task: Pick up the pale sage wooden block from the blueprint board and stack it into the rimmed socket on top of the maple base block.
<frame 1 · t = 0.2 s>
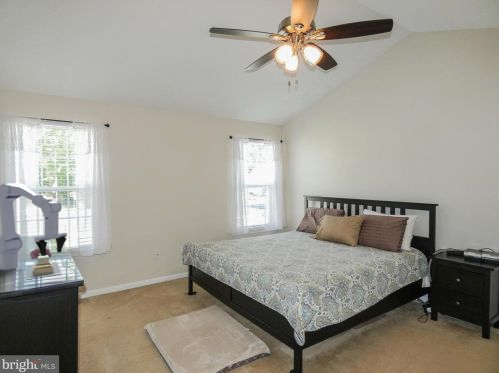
hand: (51, 253, 146), 10 cm above the dresser top, tool pointing down, fingers open, 7 cm apart
video game controller: (40, 258, 175), on the dresser top
blueprint board: (42, 271, 150), on the dresser top
sage block: (43, 266, 156), point 1 cm above the dresser top, touching blueprint board
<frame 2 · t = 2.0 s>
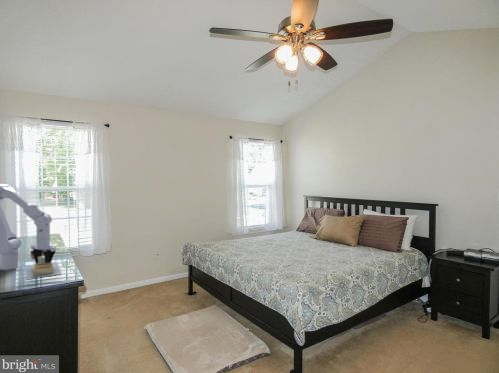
hand: (43, 263, 155), 2 cm above the dresser top, tool pointing down, fingers closed on sage block, 6 cm apart
sage block: (43, 266, 156), point 1 cm above the dresser top, touching blueprint board, gripper
everything else where it was.
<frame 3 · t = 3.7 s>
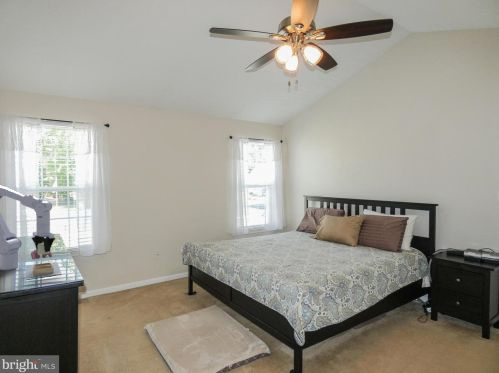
hand: (43, 250, 154), 9 cm above the dresser top, tool pointing down, fingers closed on sage block, 6 cm apart
sage block: (43, 253, 154), point 8 cm above the dresser top, touching gripper
everything else where it was.
when the fingers open (6 cm above the dresser top, at t = 5.6 s): sage block stays where it is, resting on blueprint board.
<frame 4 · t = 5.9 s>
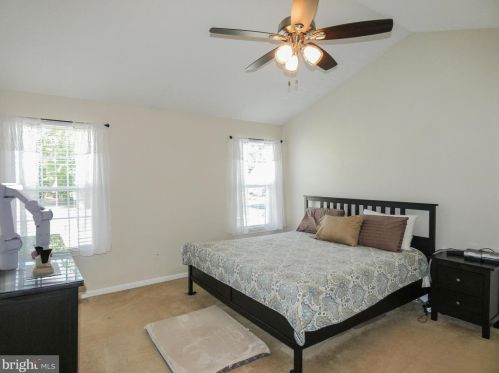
hand: (43, 261, 146), 6 cm above the dresser top, tool pointing down, fingers open, 7 cm apart
sage block: (43, 265, 146), point 4 cm above the dresser top, tilted 8°, touching blueprint board, gripper
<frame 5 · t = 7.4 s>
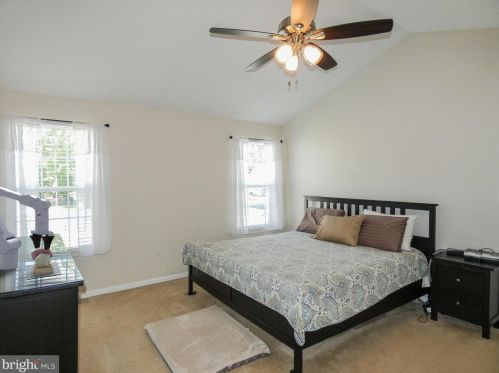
hand: (42, 248, 154), 10 cm above the dresser top, tool pointing down, fingers open, 7 cm apart
sage block: (43, 265, 147), point 4 cm above the dresser top, tilted 11°, touching blueprint board
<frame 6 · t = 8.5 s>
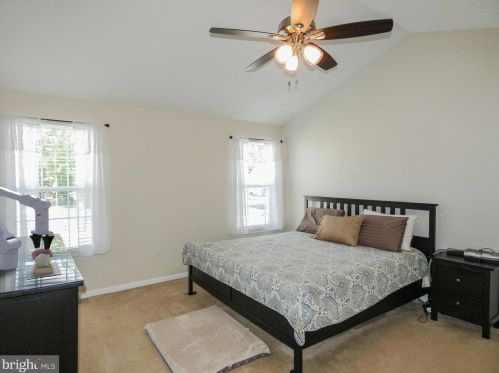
hand: (42, 248, 154), 10 cm above the dresser top, tool pointing down, fingers open, 7 cm apart
at the end: sage block 0.2 cm from the target spot on the blueprint board, point 3.9 cm above the blueprint board's base; sage block tilted 11°; the gripper is holding nothing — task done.
